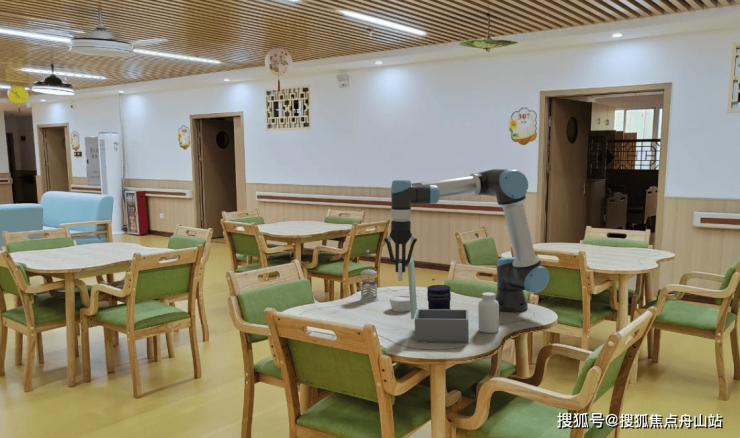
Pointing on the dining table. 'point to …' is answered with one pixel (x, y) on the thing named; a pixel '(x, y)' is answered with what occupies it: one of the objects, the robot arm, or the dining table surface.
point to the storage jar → (438, 296)
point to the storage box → (441, 326)
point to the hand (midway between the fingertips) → (400, 280)
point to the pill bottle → (488, 313)
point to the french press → (368, 286)
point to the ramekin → (400, 303)
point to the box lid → (412, 288)
